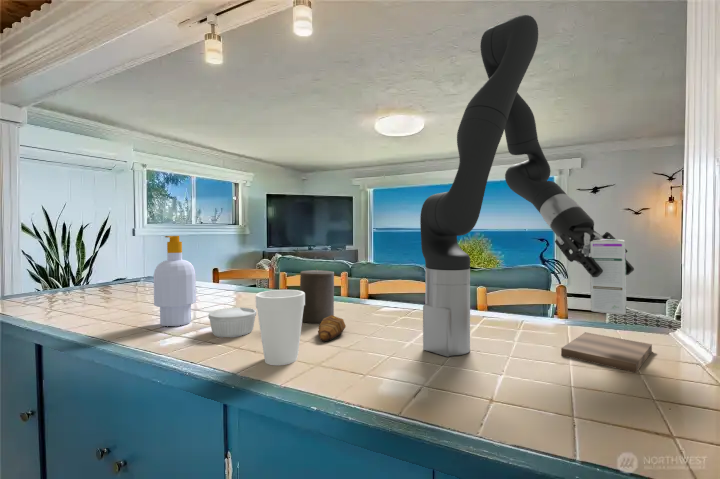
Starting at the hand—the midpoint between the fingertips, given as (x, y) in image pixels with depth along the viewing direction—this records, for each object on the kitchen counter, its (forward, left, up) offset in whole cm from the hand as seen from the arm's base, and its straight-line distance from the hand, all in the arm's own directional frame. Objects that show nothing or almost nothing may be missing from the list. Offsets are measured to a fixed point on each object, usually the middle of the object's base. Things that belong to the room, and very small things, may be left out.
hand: (614, 273), depth 70 cm
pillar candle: (-26, +65, -17) cm, 72 cm away
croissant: (-32, +51, -17) cm, 62 cm away
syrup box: (+1, +1, -8) cm, 8 cm away
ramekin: (-49, +69, -17) cm, 86 cm away
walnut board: (0, +1, -16) cm, 16 cm away
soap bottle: (-57, +88, -17) cm, 106 cm away
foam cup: (-50, +44, -17) cm, 68 cm away
